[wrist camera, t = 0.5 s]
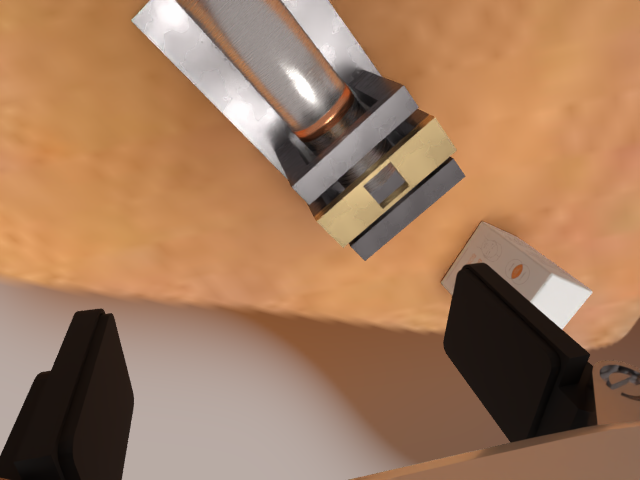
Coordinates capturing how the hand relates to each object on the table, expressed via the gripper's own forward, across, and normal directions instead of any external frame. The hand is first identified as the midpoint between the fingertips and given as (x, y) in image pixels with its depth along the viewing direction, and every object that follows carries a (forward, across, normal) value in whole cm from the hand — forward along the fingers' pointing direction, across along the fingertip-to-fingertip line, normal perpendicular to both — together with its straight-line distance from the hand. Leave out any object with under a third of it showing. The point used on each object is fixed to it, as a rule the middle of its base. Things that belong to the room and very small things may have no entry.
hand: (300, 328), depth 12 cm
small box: (+25, -25, +15) cm, 38 cm away
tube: (+25, -4, -3) cm, 25 cm away
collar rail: (+25, -6, -1) cm, 26 cm away
